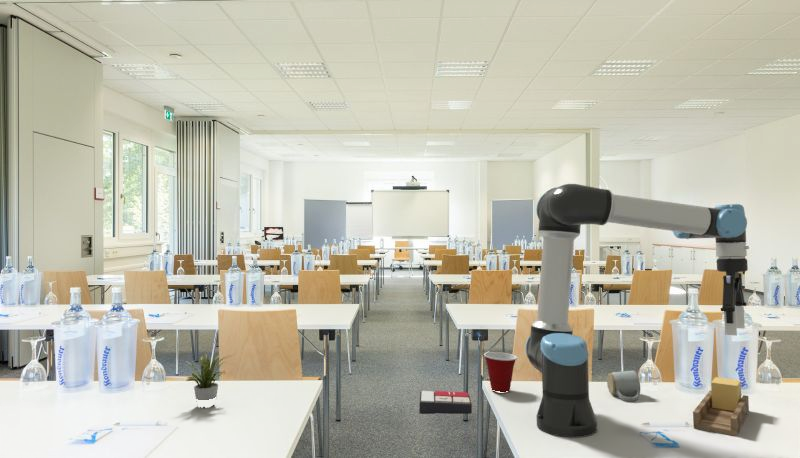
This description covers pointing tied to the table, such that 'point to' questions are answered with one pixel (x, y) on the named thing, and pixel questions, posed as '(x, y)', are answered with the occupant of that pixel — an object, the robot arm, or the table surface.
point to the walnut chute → (720, 416)
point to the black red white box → (445, 402)
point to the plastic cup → (500, 370)
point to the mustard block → (725, 393)
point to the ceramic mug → (624, 385)
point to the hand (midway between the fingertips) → (735, 331)
